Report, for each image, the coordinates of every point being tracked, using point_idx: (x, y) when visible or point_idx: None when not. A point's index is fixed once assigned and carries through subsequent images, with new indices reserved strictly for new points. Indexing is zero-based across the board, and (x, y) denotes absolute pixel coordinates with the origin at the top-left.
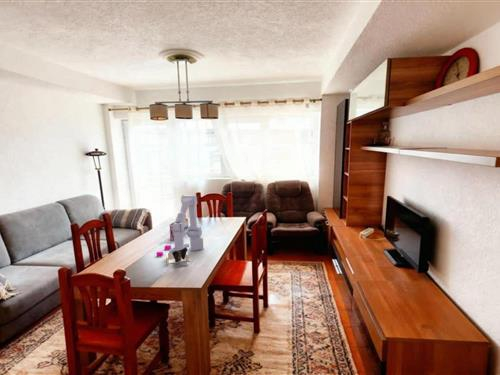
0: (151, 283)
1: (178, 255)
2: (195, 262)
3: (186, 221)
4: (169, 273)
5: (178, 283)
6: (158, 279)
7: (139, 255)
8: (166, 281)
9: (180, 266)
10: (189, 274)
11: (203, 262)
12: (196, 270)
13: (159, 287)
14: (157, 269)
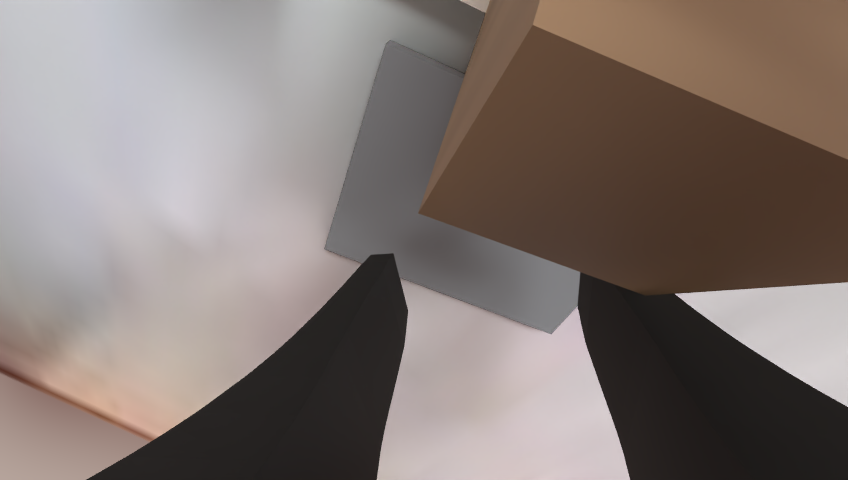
0: (25, 345)
1: (533, 252)
2: (753, 300)
3: None
4: (233, 307)
5: None
6: (93, 331)
7: None
8: (179, 401)
9: (439, 285)
10: (422, 444)
11: (812, 378)
12: (534, 441)
13: (115, 424)
14: (26, 35)
